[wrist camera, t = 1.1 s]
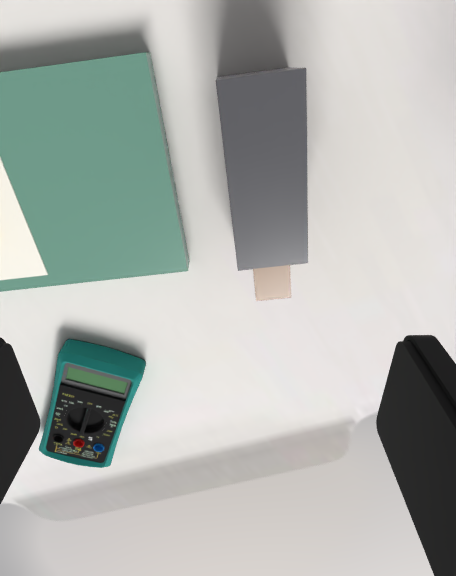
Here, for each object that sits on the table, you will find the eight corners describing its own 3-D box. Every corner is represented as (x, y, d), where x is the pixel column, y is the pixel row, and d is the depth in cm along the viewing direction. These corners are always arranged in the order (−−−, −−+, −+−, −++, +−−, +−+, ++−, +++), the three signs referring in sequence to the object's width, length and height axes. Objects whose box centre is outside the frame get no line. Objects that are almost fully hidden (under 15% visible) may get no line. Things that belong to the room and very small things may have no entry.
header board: (150, 53, 23) (132, 50, 18) (189, 262, 30) (183, 295, 25) (-197, 100, 24) (-291, 108, 19) (-79, 291, 31) (-129, 328, 26)
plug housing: (289, 67, 23) (306, 67, 18) (294, 265, 30) (308, 303, 25) (217, 77, 23) (215, 80, 18) (239, 271, 30) (242, 309, 25)
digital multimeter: (46, 436, 41) (34, 461, 38) (68, 332, 34) (55, 354, 31) (114, 451, 42) (107, 476, 39) (149, 354, 35) (143, 377, 32)
